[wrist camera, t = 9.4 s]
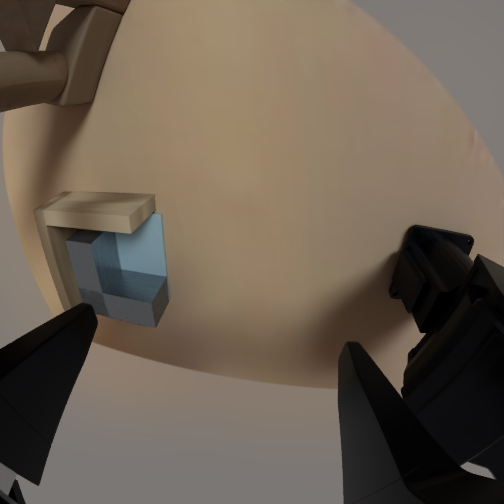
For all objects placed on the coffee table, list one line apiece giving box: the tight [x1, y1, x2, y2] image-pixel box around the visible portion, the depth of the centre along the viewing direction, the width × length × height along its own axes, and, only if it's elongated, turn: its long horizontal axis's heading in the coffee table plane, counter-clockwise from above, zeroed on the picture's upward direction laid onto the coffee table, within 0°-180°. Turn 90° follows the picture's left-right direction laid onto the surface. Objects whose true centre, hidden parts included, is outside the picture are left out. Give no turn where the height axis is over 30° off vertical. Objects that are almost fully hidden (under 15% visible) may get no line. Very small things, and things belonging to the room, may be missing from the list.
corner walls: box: [34, 192, 156, 311], centre depth 21 cm, size 9×11×4 cm
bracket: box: [65, 229, 170, 328], centre depth 21 cm, size 7×7×4 cm
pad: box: [115, 213, 170, 300], centre depth 23 cm, size 8×8×1 cm
